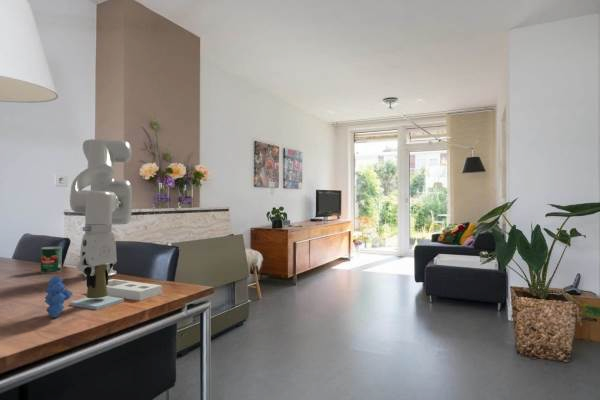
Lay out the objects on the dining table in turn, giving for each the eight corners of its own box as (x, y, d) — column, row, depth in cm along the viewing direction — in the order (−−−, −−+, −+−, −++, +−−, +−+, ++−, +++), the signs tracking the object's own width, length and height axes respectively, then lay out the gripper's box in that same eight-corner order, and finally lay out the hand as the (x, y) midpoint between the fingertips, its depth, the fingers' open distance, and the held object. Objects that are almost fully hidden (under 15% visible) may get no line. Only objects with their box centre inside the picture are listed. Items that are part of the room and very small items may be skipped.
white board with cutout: (88, 292, 130) (88, 284, 130) (112, 286, 139) (112, 278, 139) (140, 300, 121) (140, 291, 121) (161, 293, 131) (162, 285, 131)
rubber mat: (69, 305, 115) (69, 301, 115) (97, 297, 124) (97, 294, 124) (96, 309, 111) (97, 306, 111) (123, 301, 120) (123, 298, 120)
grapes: (77, 319, 102) (78, 276, 102) (49, 324, 97) (49, 279, 97) (67, 309, 110) (67, 270, 110) (40, 314, 106) (40, 273, 106)
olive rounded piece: (98, 299, 114) (98, 263, 114) (81, 297, 115) (82, 262, 115) (112, 294, 120) (112, 260, 120) (96, 292, 121) (96, 259, 121)
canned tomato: (41, 274, 160) (41, 249, 160) (39, 271, 166) (39, 247, 166) (62, 272, 165) (63, 247, 165) (60, 269, 171) (60, 246, 171)
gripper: (82, 232, 109) (81, 293, 109) (128, 228, 124) (127, 282, 124) (65, 230, 111) (64, 290, 111) (111, 227, 127) (110, 279, 127)
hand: (97, 285), depth 118 cm, fingers closed on olive rounded piece, 3 cm apart
